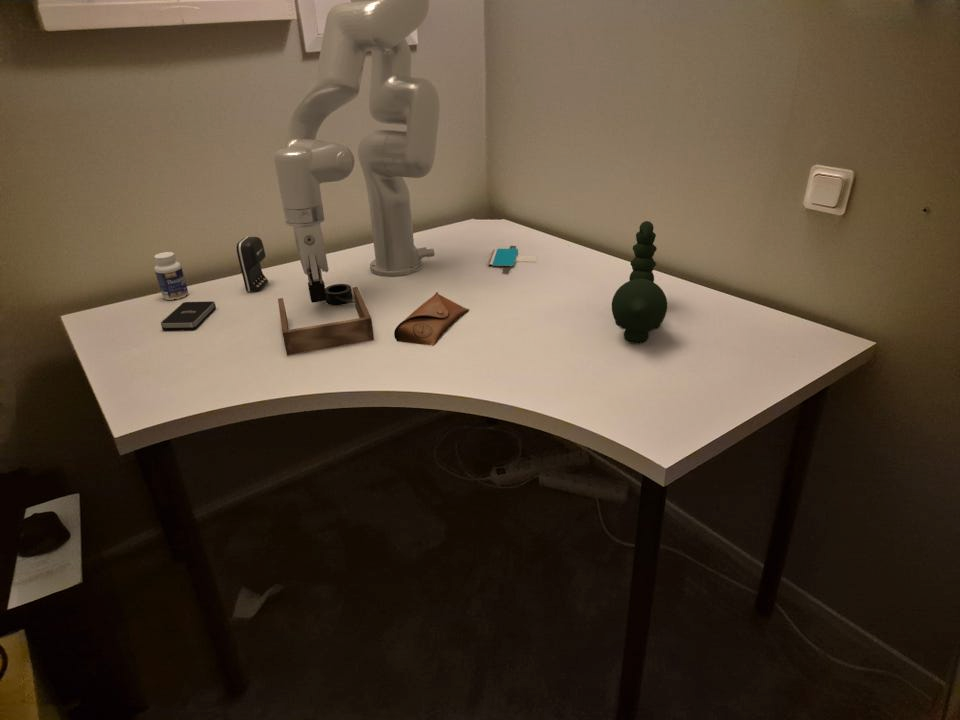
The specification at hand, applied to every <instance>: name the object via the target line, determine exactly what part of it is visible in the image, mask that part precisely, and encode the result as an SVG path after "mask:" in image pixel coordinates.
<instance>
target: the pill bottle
mask: <svg viewBox="0 0 960 720" xmlns="http://www.w3.org/2000/svg"><path fill="white" fill-rule="evenodd" d="M154 260H155V263H156V265H155V266H154V273H155V276H156V279H157V283H158V286H159V288H160V292H161V296H162V298H163V300H166V301H175V300H174V299H177V300H181V299H183V298H185V297H187V296H188V295H189V290H188V286H187V282H186V279H185V278H186V277H185V274H184V271H183V268H182V265H181V263H180V262H179V261H176V255H175V253H174V251H173V252H171V251H165V252H160V253H157V254H155V255H154ZM186 295H187V296H186ZM182 297H183V298H182ZM180 298H181V299H180Z"/></svg>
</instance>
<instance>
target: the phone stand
mask: <svg viewBox="0 0 960 720" xmlns="http://www.w3.org/2000/svg"><path fill="white" fill-rule="evenodd" d="M518 251H519V249H518V248H517V245H510V246H509V248H497V249H492V252H491V253H490V255H491V256H490V258H489V259H488V267H490V265H491V266H492V267H494V268H499V269H502V274H510V271H511V268H512V267H513V266H514V265H515V263H537V261H538V256H529V255H528V256H525V255H524V256H523V255H522V256H521V255H519V256H518Z"/></svg>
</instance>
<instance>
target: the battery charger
mask: <svg viewBox="0 0 960 720" xmlns="http://www.w3.org/2000/svg"><path fill="white" fill-rule="evenodd" d="M236 254H237V258H238V263H239V268H240V272H241V275H242V278H243V282H244V284H243V285H244V288H245V291H246V292H248V293H249V292H250V293H251V292H259V291H261V290H262V289H264V287H265V286H267V284H268V283H269V280H268V279H267V277H266V276H265V275H264V272H263V270H262V266H261V263H262V261H263V260H264V259H266V251H265V247H264V243H263V240H262V239H261V238H260V237H258V236H249V235H248V236H245V237H243V238H242V239H240V240H239V241H237V243H236Z"/></svg>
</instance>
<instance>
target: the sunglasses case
mask: <svg viewBox="0 0 960 720" xmlns="http://www.w3.org/2000/svg"><path fill="white" fill-rule="evenodd" d="M469 311H470V309H469V308H466V307H465V306H462V305H460V304H459V303H456V302H455V301H453V300H451V299H449V298H447V297H445V296H444V295H441V294H439V291H437V292H435V294H434V295H433V296H432V297H430V298H428V299H427V300H426V301H425V302H423V303H422V304H421V305H420V306H418V307H417V308H416V309H415V310H414V311H413V312H412V313H410V314H409V315H408V316H407V317H406V318H404V320H402V321H401V322H400V323H399V324H398V325H397V326H396V327H395V329H394V332H393V335H394V339H395V340H396V342H398V343H399V342H400V343H408V344H416V345H422V346H423V345H424V346H433V347H434V346H436V345H437V343H438V341H439V340H440V338H442V336H444V334H445V333H446V332H447V331H448V330H449V329H450V328H451V327H452V326H453V325H454V324H455V323H456V322H458V320H460V318H462V317H463V316H464V315H465V314H467V313H468V312H469Z"/></svg>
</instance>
